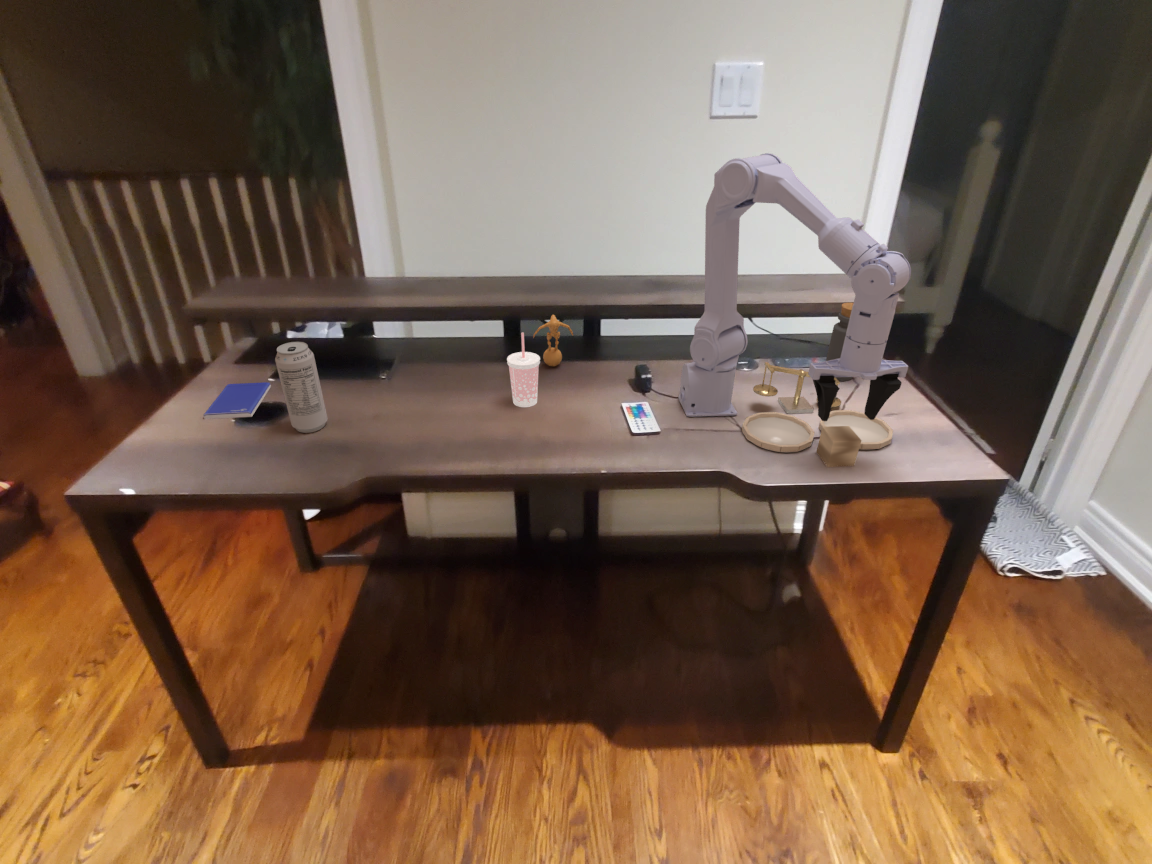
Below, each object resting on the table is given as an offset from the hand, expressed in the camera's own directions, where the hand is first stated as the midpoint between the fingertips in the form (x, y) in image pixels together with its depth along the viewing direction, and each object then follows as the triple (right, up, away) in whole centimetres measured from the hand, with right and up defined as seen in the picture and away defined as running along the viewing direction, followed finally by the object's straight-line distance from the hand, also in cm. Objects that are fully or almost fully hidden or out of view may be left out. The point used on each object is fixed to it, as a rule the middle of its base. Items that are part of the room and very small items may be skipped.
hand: (845, 417), depth 101 cm
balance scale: (-1, +2, +19) cm, 20 cm away
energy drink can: (-90, -1, +12) cm, 91 cm away
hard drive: (-107, +3, +20) cm, 108 cm away
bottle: (+12, +9, +32) cm, 35 cm away
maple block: (0, -7, +4) cm, 8 cm away
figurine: (-48, +11, +34) cm, 59 cm away
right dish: (+6, -2, +11) cm, 13 cm away
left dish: (-8, -3, +10) cm, 13 cm away
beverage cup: (-53, +3, +20) cm, 57 cm away
